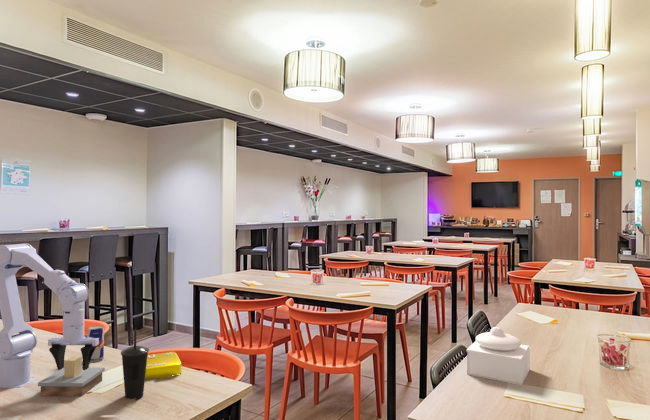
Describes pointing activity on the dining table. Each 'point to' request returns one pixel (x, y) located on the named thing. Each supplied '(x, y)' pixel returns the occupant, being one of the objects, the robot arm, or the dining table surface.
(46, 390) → the box
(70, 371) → the lid
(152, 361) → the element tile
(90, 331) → the energy drink
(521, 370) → the white lidded container
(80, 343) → the robot arm
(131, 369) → the drinking cup
